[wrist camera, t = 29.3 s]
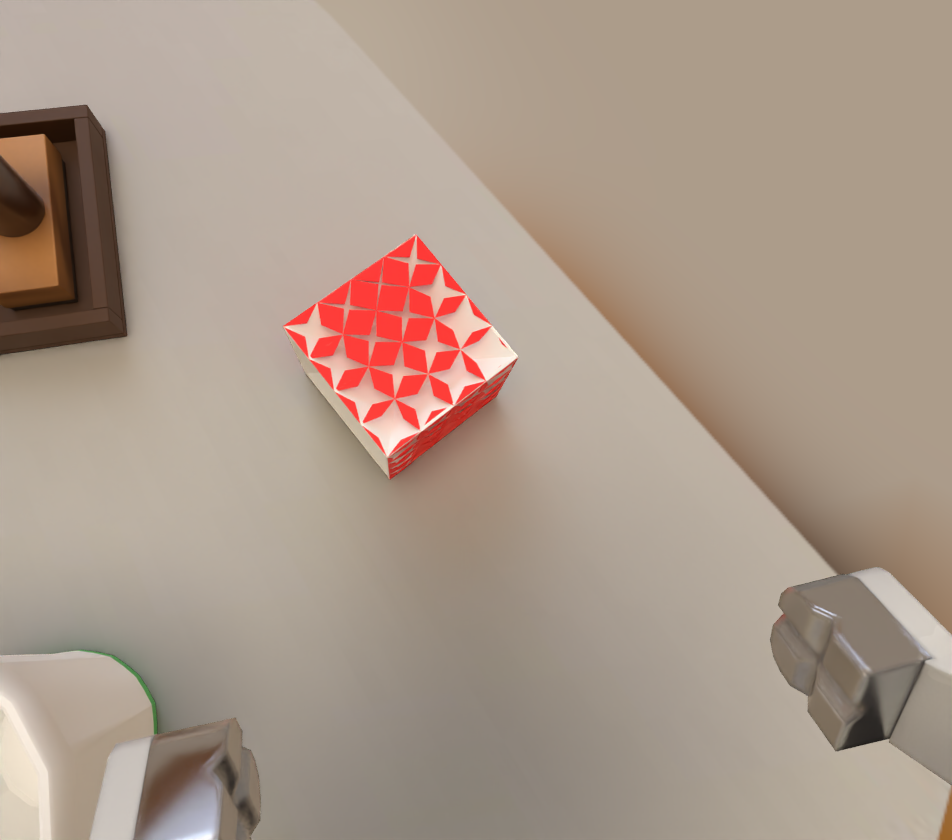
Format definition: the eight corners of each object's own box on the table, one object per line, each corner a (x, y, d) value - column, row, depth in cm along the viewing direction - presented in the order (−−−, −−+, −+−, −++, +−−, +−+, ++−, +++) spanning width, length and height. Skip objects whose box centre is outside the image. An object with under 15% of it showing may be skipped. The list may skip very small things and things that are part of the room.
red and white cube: (304, 372, 40) (282, 326, 32) (412, 295, 42) (415, 233, 34) (390, 480, 39) (388, 459, 32) (497, 397, 41) (519, 358, 33)
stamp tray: (127, 336, 40) (109, 321, 37) (-17, 357, 38) (-45, 342, 36) (105, 131, 42) (86, 104, 40) (-32, 145, 41) (-59, 118, 38)
